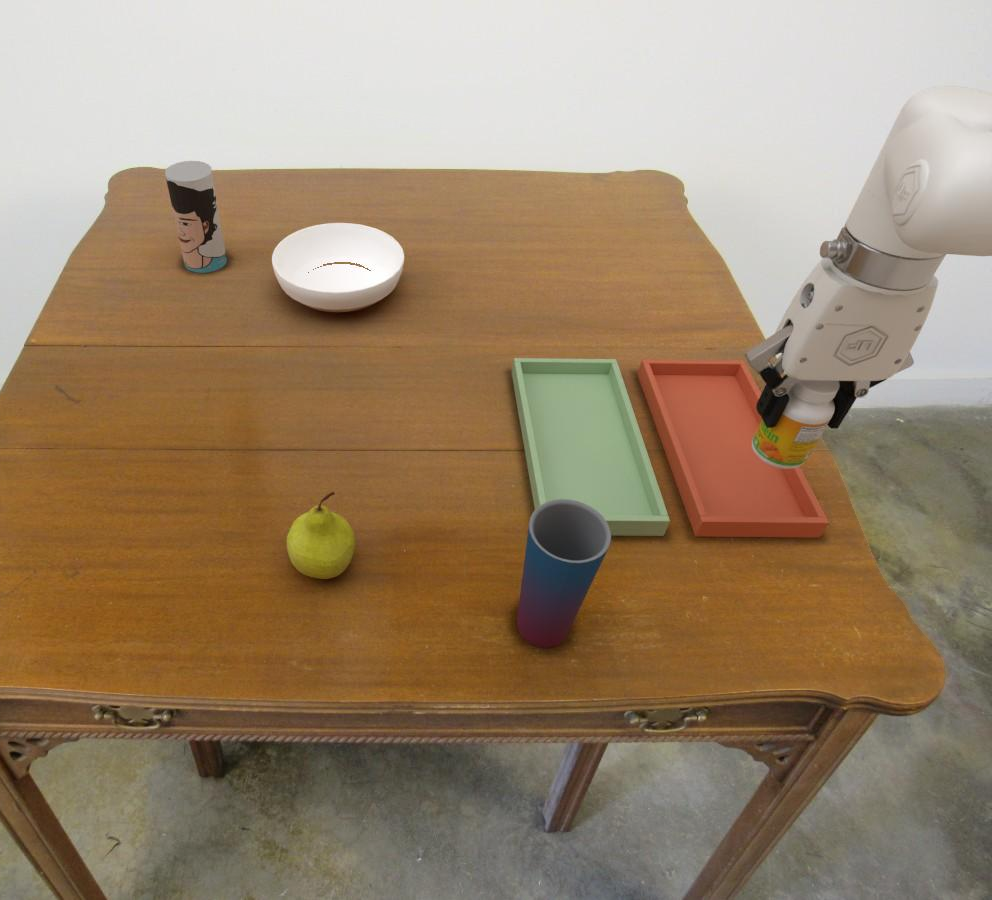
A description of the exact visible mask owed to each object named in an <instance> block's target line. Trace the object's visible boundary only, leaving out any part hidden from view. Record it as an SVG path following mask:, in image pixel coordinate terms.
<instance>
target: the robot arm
mask: <svg viewBox="0 0 992 900" xmlns="http://www.w3.org/2000/svg"><path fill="white" fill-rule="evenodd" d="M819 248H820V249H819V255H820V257H821V258H820V260H819V261H818V262H817V264H816V265H815V266H814V268H813V269H812V270H811V271H810V272H809V274H808V276H807V277H806V278H805V280H804V281H803V282H802V284H801V286H800V287H799V289H798V290H797V291H796V293H795V295H794V296H793V298H792V300H791V302H790V303H789V305H788V307H787V309H786V310H785V312H784V313H783V316H782V317H781V320H780V321H779V324H778V325H777V328H776V329H775V332H774V333H773V334H772V335H771V336H769V337H767V338H765V339H764V340H763V341H761V342H760V343H758V344H757V345H755V346H753V347H752V348H750V349H749V350H747V351H746V352H745V353H744V357H745V359H746V361H747V363H748V365H749V366H750V367H751V368H752V369H753V371H754V372H756V374H758V375H759V376H760V378H761V379H762V381H763V382H764V383H765V386H764V388H763V390H762V391H761V396H760V398H759V400H758V402H757V405H756V409H757V412H758V414H759V415H761V417H762V419H763V421H764V423H765V425H766V427H767V428H774V426H776V425H777V423H778V421H779V419H780V417H781V415H782V413H783V411H784V410H785V408H786V406H787V404H788V402H789V396H788V394H787V392H788V391H789V390H790V389H791V388H792V387H793V386H794V385H795V384H796V383H797V382H798V381H799V380H817V381H839V384H840V386H839V389H838V391H837V393H836V395H835V397H834V398H833V401H834V404H835V411H834V414H833V416H832V418H831V420H830V421H829V423H828V424H827V427H828V428H829V429H831V430H832V429H833V430H834V429H838V428H839V427H840V426H841V424H842V423H843V421H844V419H845V418H846V416H847V415H848V413H849V412H850V410H851V408H852V407H853V405H854V403H855V402H856V401H857V398H858V399H860V398H864V397H866V396H867V395H868V393H869V391H870V389H871V388H873V387H875V386H877V385H879V384H881V383H883V382H885V381H887V380H888V379H891V378H892V377H894V376H895V374H898V373H900V372H902V371H904V370H906V369H908V368H910V367H912V366H913V365H914V363H915V360H914V358H913V357H912V353H911V350H912V348H913V346H914V345H915V343H916V341H917V339H918V337H919V335H920V333H921V331H922V329H923V327H924V325H925V323H926V320H927V318H928V317H929V313H930V311H931V309H932V306H933V302H934V299H935V295H936V292H937V289H938V285H939V280H938V278H937V276H936V275H935V274H936V273H937V271H938V269H939V267H940V265H941V264H942V262H943V261H944V259H945V257H946V256H947V255H957V256H972V257H992V92H990V91H986V90H982V89H978V88H973V87H967V86H958V85H956V86H955V85H944V86H933V87H928V88H926V89H922V90H920V91H918V92H917V93H915V94H914V95H912V96H911V97H910V98H909V99H908V100H907V101H906V102H905V104H903V106H902V107H901V109H900V111H899V113H898V115H897V116H896V119H895V121H894V122H893V125H892V127H891V129H890V131H889V133H888V135H887V137H886V139H885V141H884V143H883V145H882V147H881V150H880V152H879V153H878V156H877V158H876V160H875V161H874V163H873V166H872V167H871V170H870V171H869V174H868V176H867V178H866V180H865V183H864V184H863V186H862V188H861V190H860V193H859V195H858V196H857V199H856V201H855V202H854V204H853V207H852V209H851V211H850V213H849V215H848V217H847V219H846V221H845V223H844V225H843V227H842V228H841V229H840V231H839V233H838V235H837V238H836V239H833V240H825V241H823V242H822V243H821V245H820V247H819ZM779 354H780V355H779ZM777 355H779V356H778V357H777V358H776V359H775V361H774V362H772V363H771V362H770V360H771V359H772V358H774V357H776V356H777ZM784 372H785V374H784V375H783V373H784ZM782 375H783V376H782Z"/></svg>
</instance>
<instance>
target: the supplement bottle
mask: <svg viewBox="0 0 992 900" xmlns="http://www.w3.org/2000/svg"><path fill="white" fill-rule="evenodd" d="M839 386H840V384H839V381H817V380H799V381H798V382H797V383H796V384H795V385H794V386H793V387H792V388H791V389H790V390H789V391H788V392H787V394H788V396H789V402H788V404H787V406H786V408H785V410H784V411H783V413H782V415H781V417H780V419H779V421H778V423H777V425H776V426H774V428H767V427H766V425H765V423H764V421H763V420H762V421H761V423H760V425H759V427H758V429H757V431H756V433H755V435H754V437H753V440H752V448H753V451H754V452H755V454H756V455H757V456H758V457H759V458H760V459H761V460H763V461H764V462H766V463H767V464H769V465H772V466H774V467H777V468H782V469H792V468H797V467H799V466H800V467H801V466H803V465H804V464H805V463H806V461H807V460H808V458H809V457H810V456H811V453H812V452H813V450H814V448H815V447H816V445H817V444H818V441H819V439H821V436H822V435H823V433H824V431H825V430H826V427H828V425H827V424H828V423H829V421H830V420H831V418H832V416H833V414H834V411H835V404H834V401H833V398H834V397H835V395H836V393H837V391H838V389H839Z"/></svg>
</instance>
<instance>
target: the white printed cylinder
mask: <svg viewBox="0 0 992 900" xmlns="http://www.w3.org/2000/svg"><path fill="white" fill-rule="evenodd" d="M164 175H165V181H166V185H167V190H168V194H169V199H170V204H171V208H172V214H173V217H174V222H175V227H176V231H177V236H178V241H179V246H180V250H181V254H182V260H183V264H184V267H185V268H186V269H187V270H189V271H191V272H194V273H197V274H207V273H212V272H215V271H218V270H220V269H222V268H224V266H226V264H227V262H228V259H227V252H226V247H225V241H224V234H223V228H222V224H221V217H220V213H219V205H218V199H217V194H216V188H215V180H214V174H213V169H212V166H211V165H210V164H209V163H207V162H204V161H200V160H185V161H180V162H176V163H174V164H171V165H169V166H168V167H167V168H166V169H165V170H164ZM225 255H226V257H225ZM224 258H225V259H224ZM223 259H224V260H223ZM222 260H223V261H222ZM221 261H222V262H221ZM185 262H186V263H187V264H186V263H185ZM219 262H220V263H219ZM188 264H189V265H188ZM209 266H210V267H209Z"/></svg>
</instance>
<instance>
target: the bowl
mask: <svg viewBox="0 0 992 900" xmlns="http://www.w3.org/2000/svg"><path fill="white" fill-rule="evenodd" d="M334 262H351V263H355V264H356V263H357V264H360V265H362V266H364V267H365V268H368V269H369V270H371V271H369V270H367V269H365V268H363V267H359V266H356V265H350V264H332V265H326V266H323V264H327V263H334ZM404 263H405V253H404V248H403V247H402V245H401V244H400V243H399V242H398V241H397V239H396V238H394V237H393V236H392V235H390V234H389V233H386V232H385V231H383V230H380V229H378V228H375V227H372V226H368V225H364V224H359V223H353V222H352V223H350V222H328V223H322V224H316V225H312V226H311V225H310V226H308V227H304V228H302V229H299V230H296V231H294V232H292V233H290V234H289V235H287V236H286V237H285V238H283V239H282V240H281V241H280V242H279V243H278V244H277V245H276V246H275V248H274V249H273V251H272V254H271V265H272V269H273V273H274V276H275V278H276V280H277V282H278V285H279V286H280V287H281V289H282V290H283V291H284V293H285V294H286V295H287V296H289V298H291V299H292V300H294V301H296V302H298V303H300V304H302V305H304V306H306V307H307V308H310V309H314V310H317V311H322V312H327V313H348V312H355V311H359V310H362V309H366V308H368V307H370V306H372V305H375V304H376V303H378V302H379V301H381V300H383V299H384V298H386V297H387V296H389V295H390V294H391V293H392V292H393V291H394V289H396V287H397V285H398V283H399V282H400V279H401V277H402V274H403V269H404ZM320 266H322V267H320ZM317 267H319V268H317ZM315 268H316V269H315ZM313 269H314V270H313ZM308 272H309V273H308Z"/></svg>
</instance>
